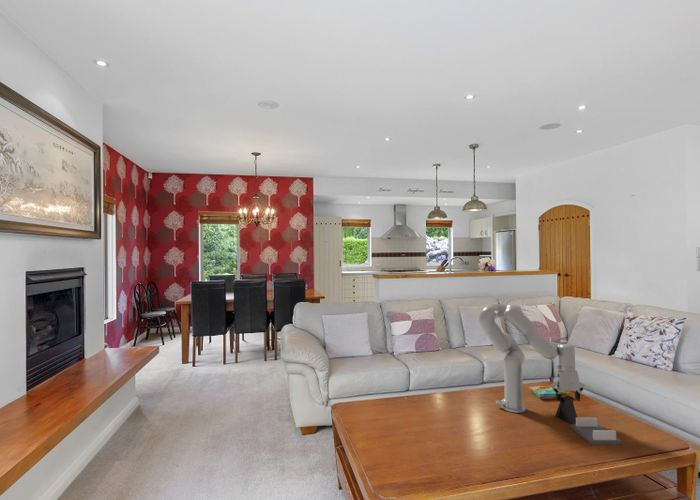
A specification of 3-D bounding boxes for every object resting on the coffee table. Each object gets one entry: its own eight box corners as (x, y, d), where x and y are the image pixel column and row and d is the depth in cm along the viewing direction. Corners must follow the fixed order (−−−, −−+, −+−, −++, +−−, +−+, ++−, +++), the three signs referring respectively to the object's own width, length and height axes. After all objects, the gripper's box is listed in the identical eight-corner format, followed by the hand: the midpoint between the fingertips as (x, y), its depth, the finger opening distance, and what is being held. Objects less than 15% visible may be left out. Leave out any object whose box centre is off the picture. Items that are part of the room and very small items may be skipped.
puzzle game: (528, 385, 235) (558, 384, 237) (528, 393, 235) (558, 391, 237) (539, 392, 223) (571, 391, 225) (539, 400, 223) (571, 399, 225)
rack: (591, 444, 173) (591, 432, 173) (570, 427, 189) (570, 416, 189) (621, 444, 173) (621, 432, 173) (598, 427, 189) (598, 416, 189)
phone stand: (555, 416, 201) (555, 394, 201) (563, 415, 203) (563, 393, 203) (569, 424, 193) (569, 401, 193) (578, 422, 195) (578, 399, 194)
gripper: (554, 370, 194) (555, 403, 194) (587, 369, 194) (589, 402, 194) (547, 366, 201) (548, 398, 201) (579, 365, 201) (580, 397, 201)
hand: (568, 400), depth 197 cm, fingers open, 9 cm apart
